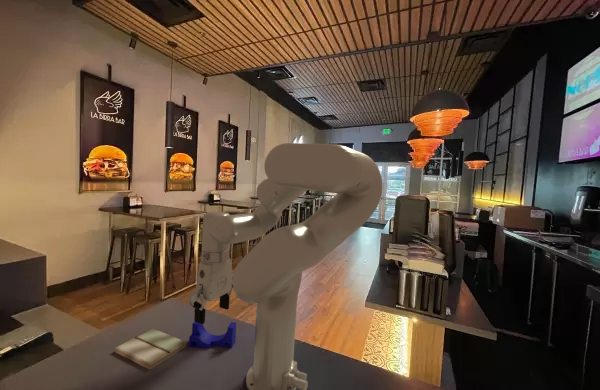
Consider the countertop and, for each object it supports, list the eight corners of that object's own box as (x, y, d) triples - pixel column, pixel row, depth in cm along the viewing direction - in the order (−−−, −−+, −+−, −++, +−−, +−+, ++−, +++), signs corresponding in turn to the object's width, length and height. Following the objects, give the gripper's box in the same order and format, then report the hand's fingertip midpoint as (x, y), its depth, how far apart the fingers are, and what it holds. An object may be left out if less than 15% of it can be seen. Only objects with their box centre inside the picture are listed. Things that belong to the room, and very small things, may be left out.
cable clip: (188, 347, 75) (189, 326, 75) (196, 338, 79) (197, 318, 79) (229, 351, 74) (230, 330, 74) (235, 342, 78) (236, 322, 78)
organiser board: (186, 346, 75) (186, 341, 75) (150, 369, 65) (150, 363, 65) (152, 332, 81) (153, 327, 81) (115, 352, 71) (115, 346, 71)
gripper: (202, 265, 65) (199, 333, 66) (245, 251, 81) (241, 306, 82) (180, 260, 68) (177, 325, 69) (225, 247, 84) (222, 300, 85)
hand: (212, 314), depth 75 cm, fingers open, 9 cm apart
